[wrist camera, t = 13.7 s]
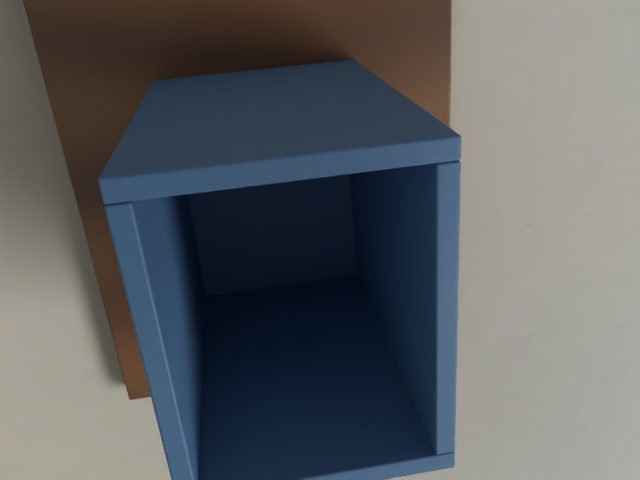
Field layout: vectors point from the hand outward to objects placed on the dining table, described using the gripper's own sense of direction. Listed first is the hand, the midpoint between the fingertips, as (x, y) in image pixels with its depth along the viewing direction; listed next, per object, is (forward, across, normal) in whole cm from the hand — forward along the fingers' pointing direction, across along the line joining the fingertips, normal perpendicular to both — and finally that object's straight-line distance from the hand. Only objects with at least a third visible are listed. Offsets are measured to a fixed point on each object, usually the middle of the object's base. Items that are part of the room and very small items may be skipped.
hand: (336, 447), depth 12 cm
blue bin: (+16, 0, -1) cm, 16 cm away
